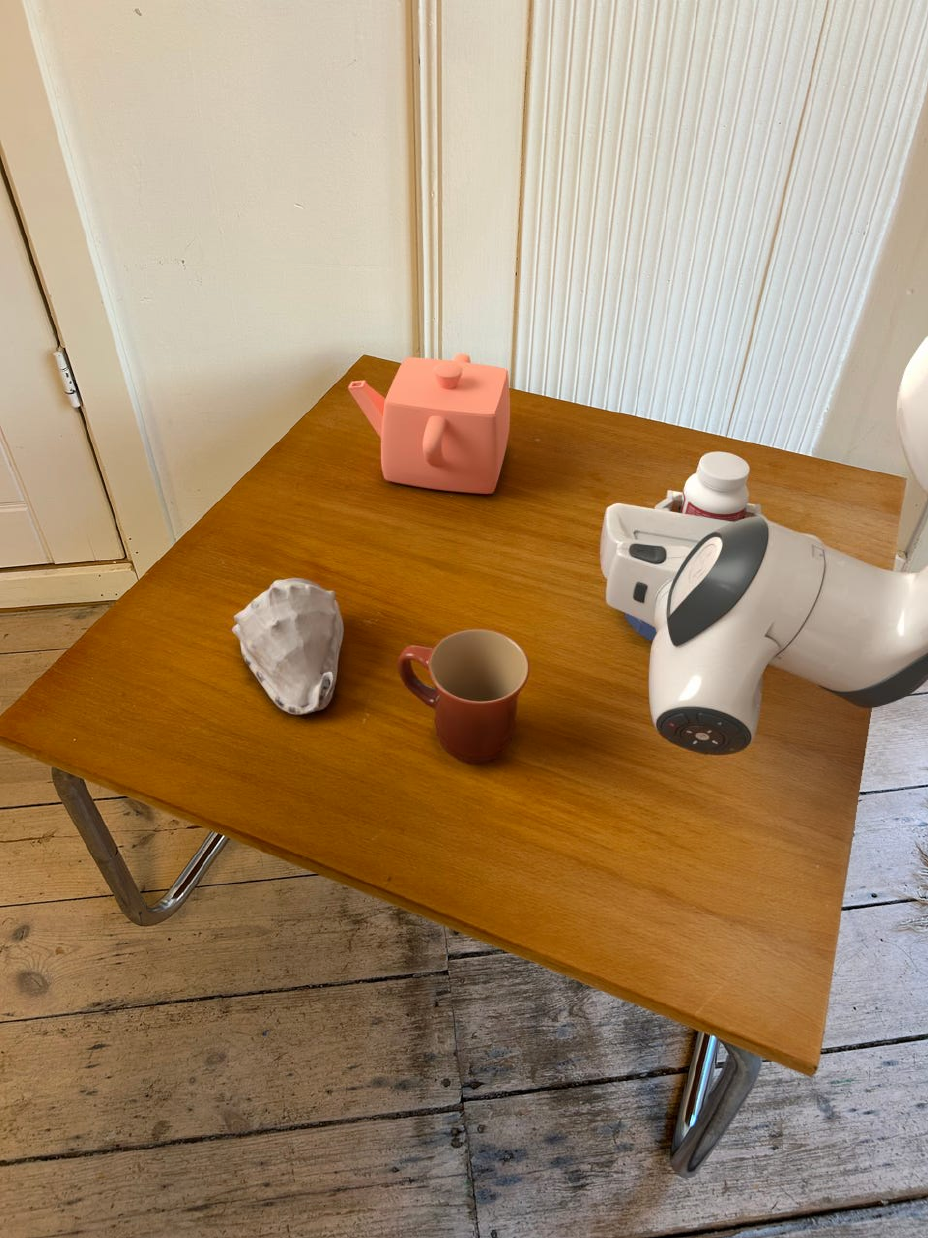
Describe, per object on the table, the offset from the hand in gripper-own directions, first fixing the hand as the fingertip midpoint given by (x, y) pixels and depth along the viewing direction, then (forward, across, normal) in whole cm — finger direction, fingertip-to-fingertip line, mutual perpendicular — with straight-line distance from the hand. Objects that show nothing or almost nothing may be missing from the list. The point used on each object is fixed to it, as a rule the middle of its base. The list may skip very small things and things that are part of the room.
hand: (711, 502), depth 85 cm
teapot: (+19, +34, +15) cm, 42 cm away
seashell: (-18, +37, +15) cm, 44 cm away
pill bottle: (-1, 0, +6) cm, 6 cm away
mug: (-23, +20, +15) cm, 34 cm away
